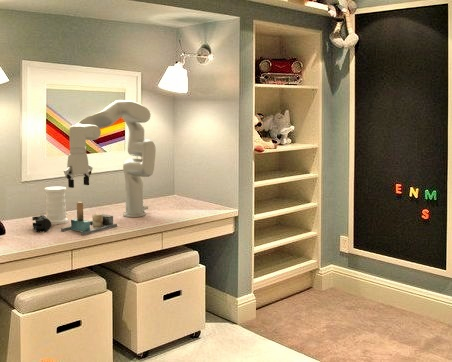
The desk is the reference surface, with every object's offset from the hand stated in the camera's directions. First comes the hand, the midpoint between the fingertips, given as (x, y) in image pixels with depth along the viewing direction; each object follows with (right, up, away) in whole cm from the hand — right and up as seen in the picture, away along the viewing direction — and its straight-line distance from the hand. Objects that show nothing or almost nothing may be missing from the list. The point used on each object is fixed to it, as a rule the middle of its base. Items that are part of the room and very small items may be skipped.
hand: (78, 186), depth 274 cm
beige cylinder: (+6, -21, +13) cm, 25 cm away
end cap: (-19, -22, +5) cm, 30 cm away
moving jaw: (0, -22, +4) cm, 22 cm away
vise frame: (+3, -21, +9) cm, 23 cm away
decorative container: (-18, -19, +22) cm, 34 cm away
